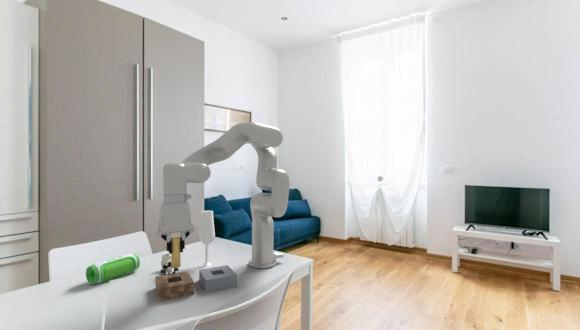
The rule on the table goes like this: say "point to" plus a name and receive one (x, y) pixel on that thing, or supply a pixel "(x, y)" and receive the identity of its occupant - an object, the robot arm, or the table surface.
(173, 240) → the pin
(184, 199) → the robot arm
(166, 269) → the valve
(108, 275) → the speaker
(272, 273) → the table surface
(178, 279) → the mount
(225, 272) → the socket
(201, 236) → the champagne flute
